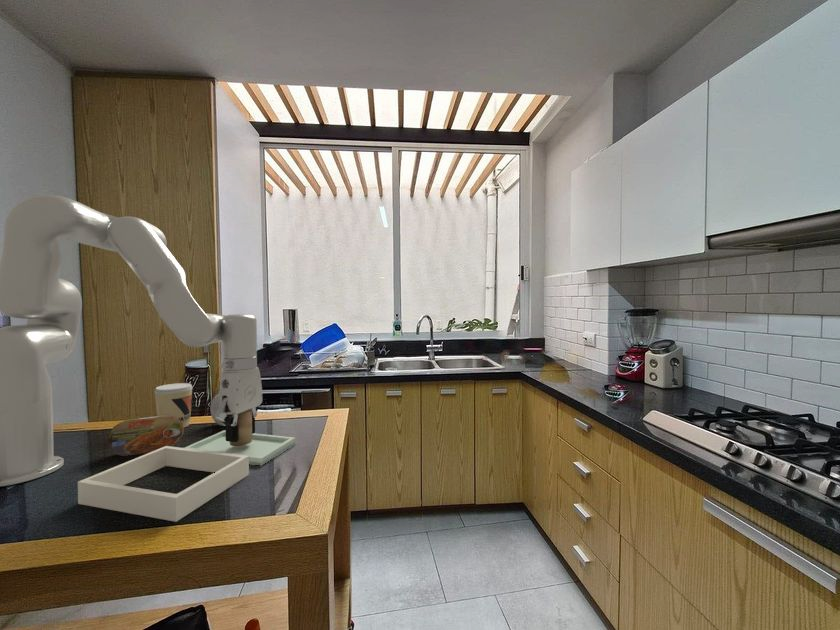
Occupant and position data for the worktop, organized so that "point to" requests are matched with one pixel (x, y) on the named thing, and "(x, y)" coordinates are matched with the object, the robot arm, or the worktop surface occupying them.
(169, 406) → the coffee cup
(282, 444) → the tray
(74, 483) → the worktop surface
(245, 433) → the wooden cylinder
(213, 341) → the robot arm
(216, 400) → the donut
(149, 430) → the tin
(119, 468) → the white rectangular frame
